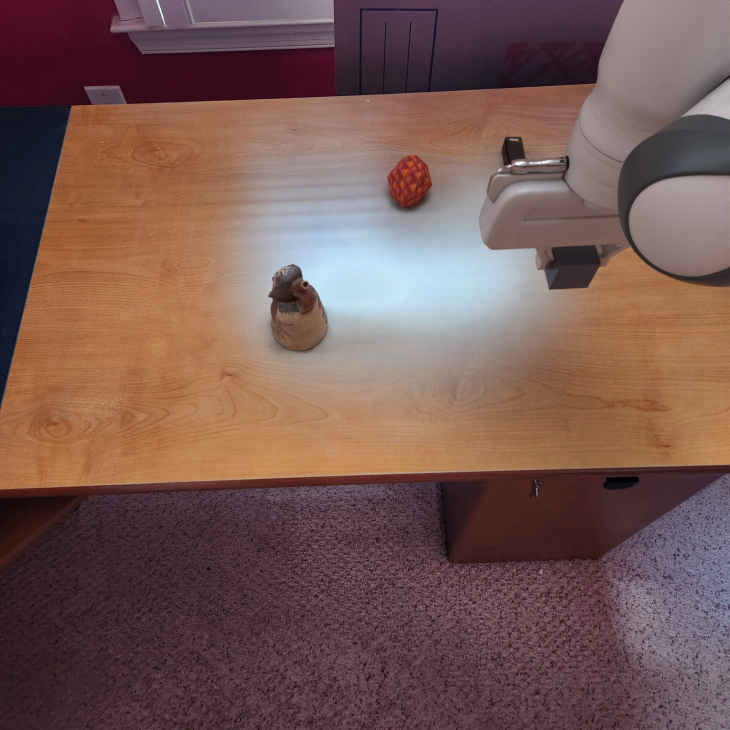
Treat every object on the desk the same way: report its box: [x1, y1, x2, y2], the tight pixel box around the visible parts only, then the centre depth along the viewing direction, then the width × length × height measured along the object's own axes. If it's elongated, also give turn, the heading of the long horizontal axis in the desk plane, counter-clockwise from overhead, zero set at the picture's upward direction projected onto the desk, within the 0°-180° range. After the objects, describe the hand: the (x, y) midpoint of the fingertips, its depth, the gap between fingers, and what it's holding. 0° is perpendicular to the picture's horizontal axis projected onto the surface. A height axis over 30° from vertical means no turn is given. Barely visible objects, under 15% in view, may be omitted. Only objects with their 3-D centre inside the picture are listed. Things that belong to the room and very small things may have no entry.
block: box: [543, 245, 601, 291], centre depth 58 cm, size 4×4×4 cm
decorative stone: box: [386, 154, 433, 208], centre depth 84 cm, size 6×7×8 cm
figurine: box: [267, 263, 329, 351], centre depth 70 cm, size 7×7×12 cm
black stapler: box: [501, 136, 527, 166], centre depth 85 cm, size 18×3×3 cm, turn 0°
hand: (569, 263), depth 59 cm, fingers closed on block, 4 cm apart
